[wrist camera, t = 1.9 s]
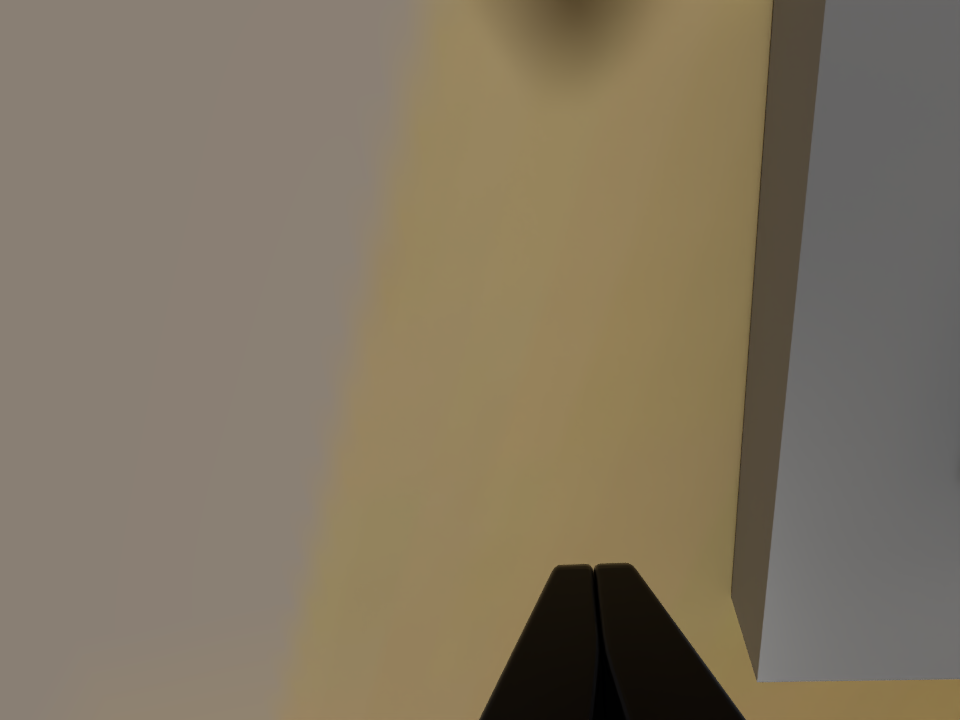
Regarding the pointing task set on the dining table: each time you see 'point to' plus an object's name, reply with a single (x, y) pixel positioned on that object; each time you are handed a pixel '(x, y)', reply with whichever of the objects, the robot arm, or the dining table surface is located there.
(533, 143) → the dining table surface
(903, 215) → the mixer panel
